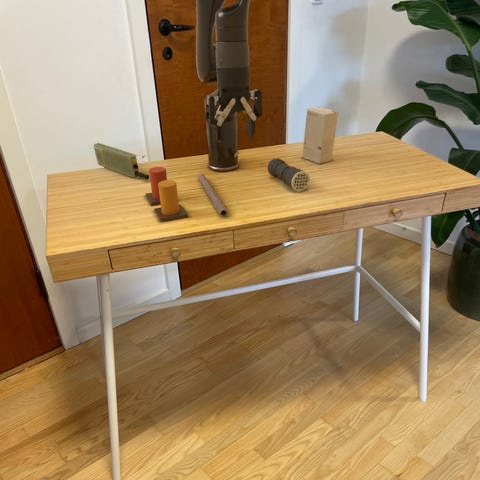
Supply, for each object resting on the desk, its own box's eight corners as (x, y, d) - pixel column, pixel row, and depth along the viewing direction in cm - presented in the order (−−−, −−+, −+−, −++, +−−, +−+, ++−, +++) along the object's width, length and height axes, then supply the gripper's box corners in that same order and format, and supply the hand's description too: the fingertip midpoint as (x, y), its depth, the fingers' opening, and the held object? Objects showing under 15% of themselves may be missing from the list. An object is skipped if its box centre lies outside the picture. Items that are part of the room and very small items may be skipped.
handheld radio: (105, 162, 150) (153, 179, 136) (96, 165, 148) (144, 183, 134) (100, 141, 146) (149, 157, 132) (91, 144, 144) (140, 160, 130)
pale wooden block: (301, 158, 149) (304, 108, 140) (315, 154, 152) (318, 105, 143) (320, 164, 144) (324, 113, 135) (333, 160, 146) (338, 110, 138)
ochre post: (154, 211, 118) (149, 180, 113) (180, 206, 120) (177, 176, 115) (160, 222, 113) (156, 190, 108) (188, 217, 114) (184, 185, 110)
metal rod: (220, 217, 114) (219, 209, 113) (198, 180, 135) (197, 173, 134) (227, 216, 114) (227, 208, 113) (204, 179, 135) (204, 173, 134)
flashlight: (265, 176, 137) (265, 157, 133) (281, 173, 138) (281, 154, 135) (291, 193, 125) (292, 173, 122) (308, 189, 127) (310, 170, 124)
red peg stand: (145, 196, 126) (141, 167, 121) (170, 192, 128) (167, 163, 123) (151, 205, 121) (146, 175, 116) (176, 201, 123) (173, 171, 118)
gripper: (251, 60, 109) (252, 132, 118) (197, 65, 104) (202, 140, 113) (268, 62, 104) (267, 137, 113) (212, 68, 98) (216, 147, 107)
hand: (235, 139), depth 113 cm, fingers open, 8 cm apart
